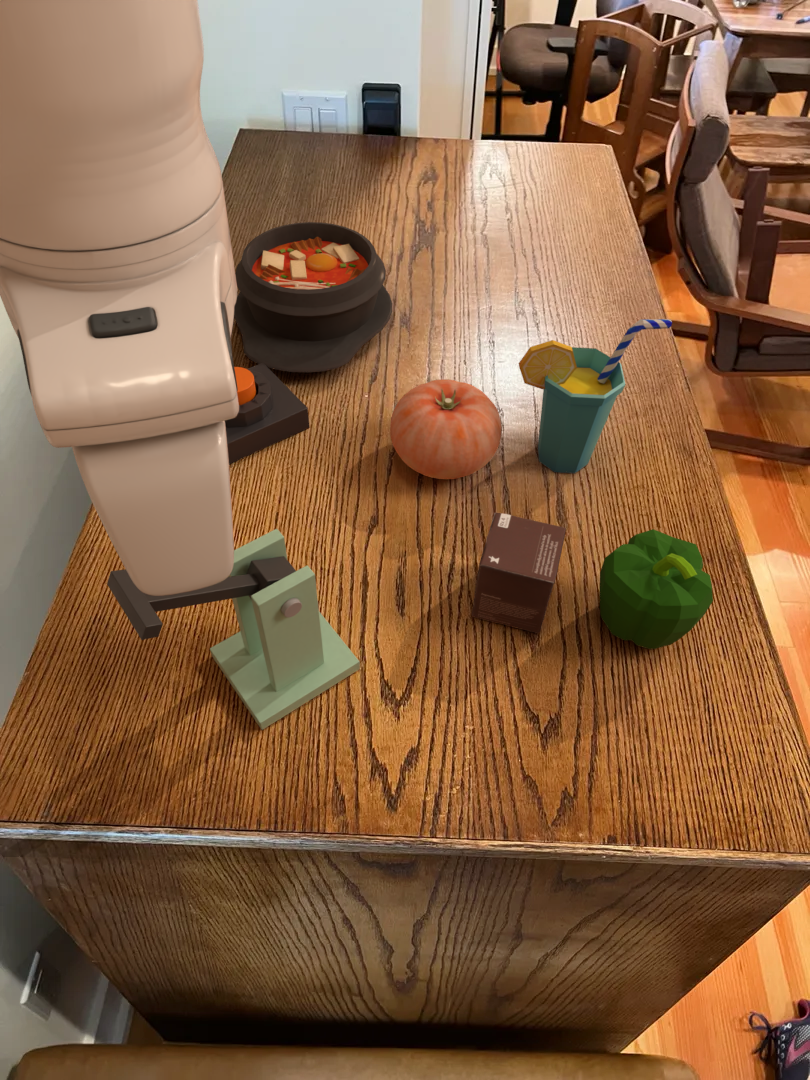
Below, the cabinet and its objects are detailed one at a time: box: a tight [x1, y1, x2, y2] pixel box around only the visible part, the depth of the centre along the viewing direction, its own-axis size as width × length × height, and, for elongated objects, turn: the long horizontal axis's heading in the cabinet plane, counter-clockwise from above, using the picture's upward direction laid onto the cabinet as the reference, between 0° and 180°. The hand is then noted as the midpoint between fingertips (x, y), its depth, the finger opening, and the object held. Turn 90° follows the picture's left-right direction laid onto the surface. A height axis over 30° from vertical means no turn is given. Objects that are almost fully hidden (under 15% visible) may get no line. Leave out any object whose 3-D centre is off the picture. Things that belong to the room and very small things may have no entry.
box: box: [471, 511, 567, 634], centre depth 63 cm, size 6×6×7 cm
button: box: [234, 366, 256, 405], centre depth 76 cm, size 4×4×2 cm
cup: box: [518, 318, 673, 474], centre depth 72 cm, size 14×8×15 cm, turn 110°
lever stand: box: [209, 528, 361, 731], centre depth 57 cm, size 9×8×13 cm
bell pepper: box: [599, 528, 714, 650], centre depth 61 cm, size 8×8×10 cm
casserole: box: [234, 221, 393, 373], centre depth 88 cm, size 25×19×8 cm
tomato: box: [389, 379, 503, 480], centre depth 74 cm, size 11×11×8 cm
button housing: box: [225, 363, 310, 465], centre depth 78 cm, size 11×9×4 cm
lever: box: [106, 556, 297, 641], centre depth 50 cm, size 12×5×2 cm, turn 127°
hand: (181, 502), depth 40 cm, fingers open, 8 cm apart
